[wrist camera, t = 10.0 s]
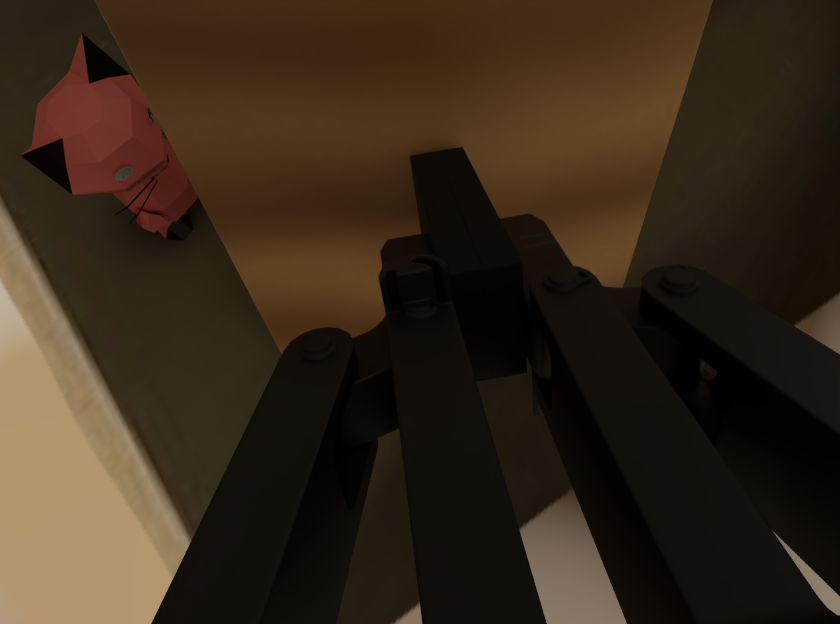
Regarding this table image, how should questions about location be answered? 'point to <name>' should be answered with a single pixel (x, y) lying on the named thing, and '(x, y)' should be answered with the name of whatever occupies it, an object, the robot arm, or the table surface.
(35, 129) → the cat figurine
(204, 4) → the chest lid
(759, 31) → the table surface
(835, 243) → the table surface
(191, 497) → the table surface
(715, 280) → the robot arm
